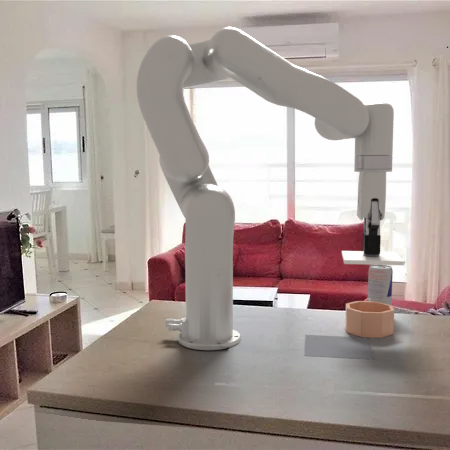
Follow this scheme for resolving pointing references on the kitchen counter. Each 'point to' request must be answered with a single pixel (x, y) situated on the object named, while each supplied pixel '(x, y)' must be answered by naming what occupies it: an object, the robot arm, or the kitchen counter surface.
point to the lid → (372, 258)
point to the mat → (338, 347)
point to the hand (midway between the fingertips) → (371, 251)
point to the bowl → (369, 319)
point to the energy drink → (380, 284)
